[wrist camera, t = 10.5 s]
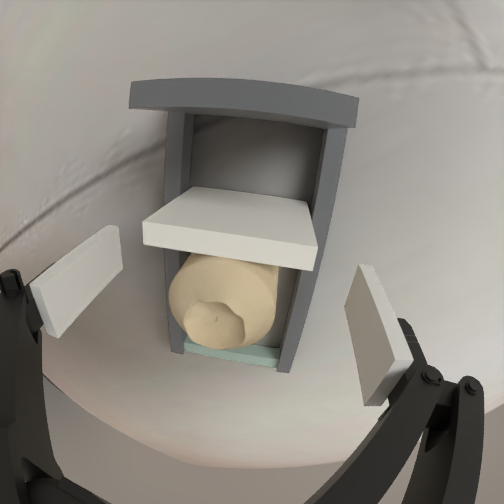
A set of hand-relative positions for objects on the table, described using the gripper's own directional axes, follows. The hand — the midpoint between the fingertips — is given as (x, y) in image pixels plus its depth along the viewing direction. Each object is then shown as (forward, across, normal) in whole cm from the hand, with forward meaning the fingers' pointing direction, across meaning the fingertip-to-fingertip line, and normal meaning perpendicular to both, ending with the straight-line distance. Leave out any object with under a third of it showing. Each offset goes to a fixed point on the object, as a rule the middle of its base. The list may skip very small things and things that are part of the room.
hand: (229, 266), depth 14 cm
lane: (+7, 0, -2) cm, 7 cm away
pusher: (+7, 0, +1) cm, 7 cm away
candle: (+7, 0, -2) cm, 7 cm away
